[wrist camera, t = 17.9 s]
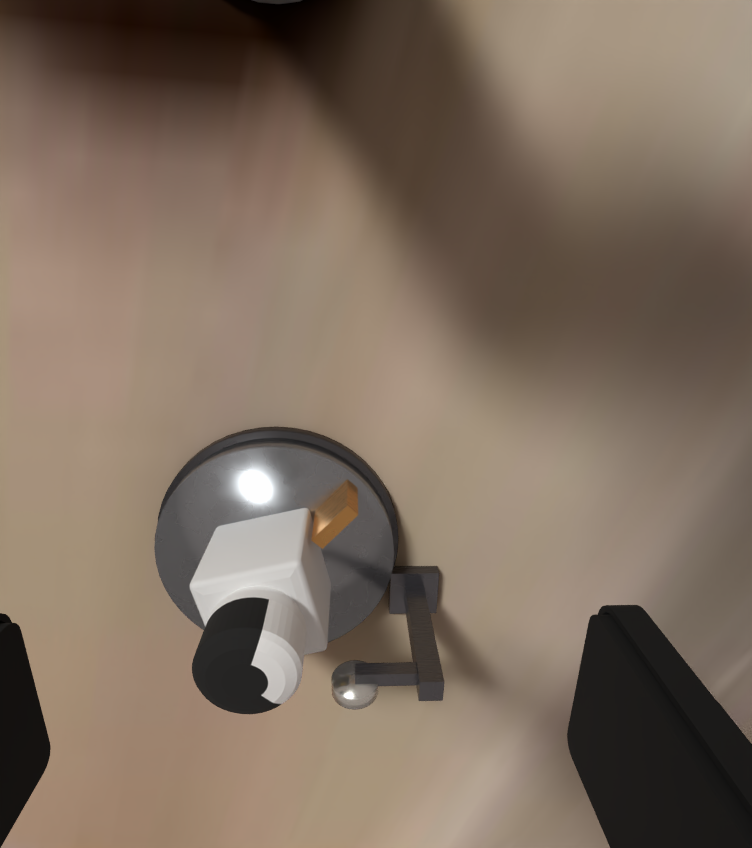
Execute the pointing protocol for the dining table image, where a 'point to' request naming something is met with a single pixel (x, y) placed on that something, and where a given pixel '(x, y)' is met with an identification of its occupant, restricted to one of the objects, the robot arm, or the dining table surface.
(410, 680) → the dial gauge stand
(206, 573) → the medicine bottle
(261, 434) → the base
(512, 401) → the dining table surface
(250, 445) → the disc
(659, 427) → the dining table surface
